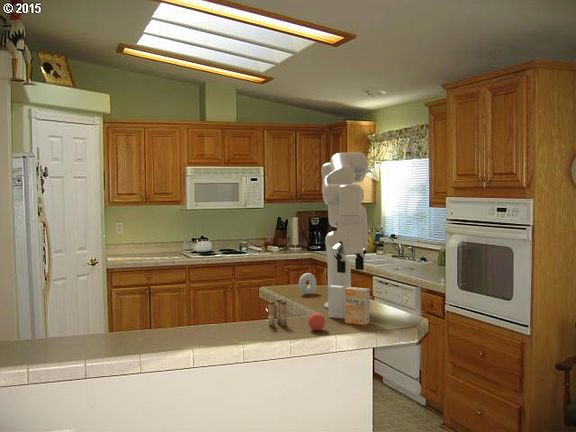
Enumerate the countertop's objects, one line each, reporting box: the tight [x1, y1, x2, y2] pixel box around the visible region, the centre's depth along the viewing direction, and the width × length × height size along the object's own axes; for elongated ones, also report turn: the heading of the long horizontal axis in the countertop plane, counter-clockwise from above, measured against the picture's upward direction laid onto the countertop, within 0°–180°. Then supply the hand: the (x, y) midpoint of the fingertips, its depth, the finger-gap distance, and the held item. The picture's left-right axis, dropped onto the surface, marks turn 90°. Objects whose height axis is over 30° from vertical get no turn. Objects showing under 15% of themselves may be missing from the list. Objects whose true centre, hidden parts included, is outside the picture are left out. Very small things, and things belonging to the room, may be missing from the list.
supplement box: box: [344, 286, 371, 326], centre depth 219 cm, size 8×5×13 cm, turn 62°
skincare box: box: [327, 285, 346, 320], centre depth 229 cm, size 6×4×12 cm
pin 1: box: [268, 300, 276, 327], centre depth 218 cm, size 2×2×9 cm
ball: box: [307, 312, 326, 331], centre depth 210 cm, size 6×6×6 cm
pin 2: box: [275, 298, 283, 325], centre depth 222 cm, size 2×2×9 cm
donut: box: [298, 272, 317, 295], centre depth 275 cm, size 10×4×10 cm, turn 130°
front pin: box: [280, 300, 288, 327], centre depth 218 cm, size 2×2×9 cm
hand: (350, 271), depth 203 cm, fingers open, 9 cm apart
